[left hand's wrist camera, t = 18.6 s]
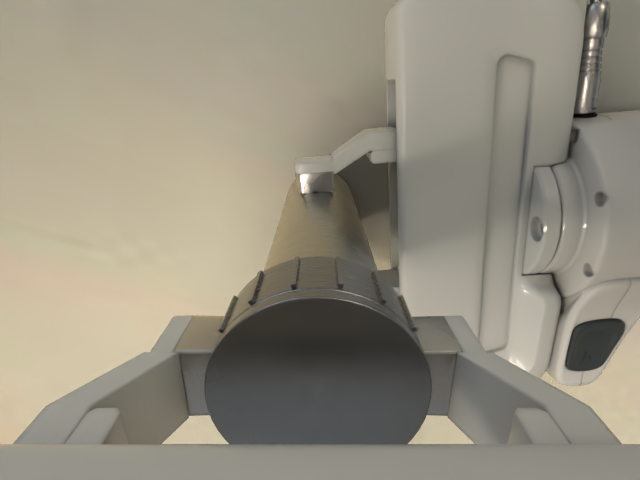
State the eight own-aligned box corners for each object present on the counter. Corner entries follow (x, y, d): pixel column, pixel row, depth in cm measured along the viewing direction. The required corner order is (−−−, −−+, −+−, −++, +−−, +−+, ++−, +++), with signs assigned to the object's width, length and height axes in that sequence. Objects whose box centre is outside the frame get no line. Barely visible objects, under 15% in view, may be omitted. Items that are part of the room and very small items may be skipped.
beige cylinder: (275, 187, 24) (199, 348, 9) (334, 157, 24) (365, 274, 8) (306, 242, 26) (286, 467, 10) (362, 215, 25) (436, 411, 9)
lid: (406, 413, 11) (424, 480, 9) (232, 414, 11) (214, 480, 9) (420, 253, 9) (446, 294, 7) (214, 254, 9) (187, 296, 7)
